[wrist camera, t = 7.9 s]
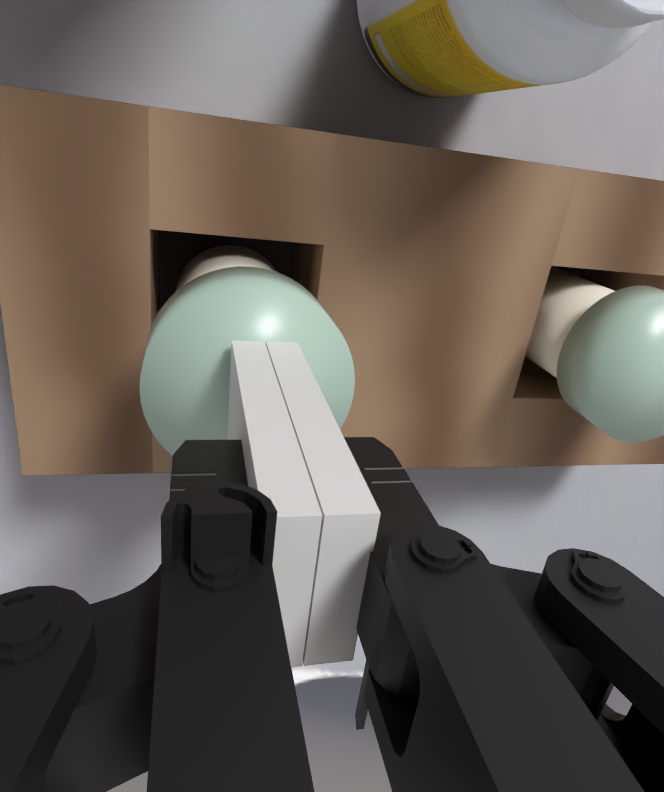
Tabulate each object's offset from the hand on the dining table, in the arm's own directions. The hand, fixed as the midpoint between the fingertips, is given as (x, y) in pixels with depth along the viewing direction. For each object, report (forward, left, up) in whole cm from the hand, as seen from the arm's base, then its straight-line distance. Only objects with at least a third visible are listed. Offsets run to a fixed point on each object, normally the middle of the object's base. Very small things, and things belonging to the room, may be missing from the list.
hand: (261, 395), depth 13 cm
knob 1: (0, 0, -8) cm, 8 cm away
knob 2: (+14, 0, -10) cm, 17 cm away
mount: (+7, 0, -11) cm, 13 cm away
